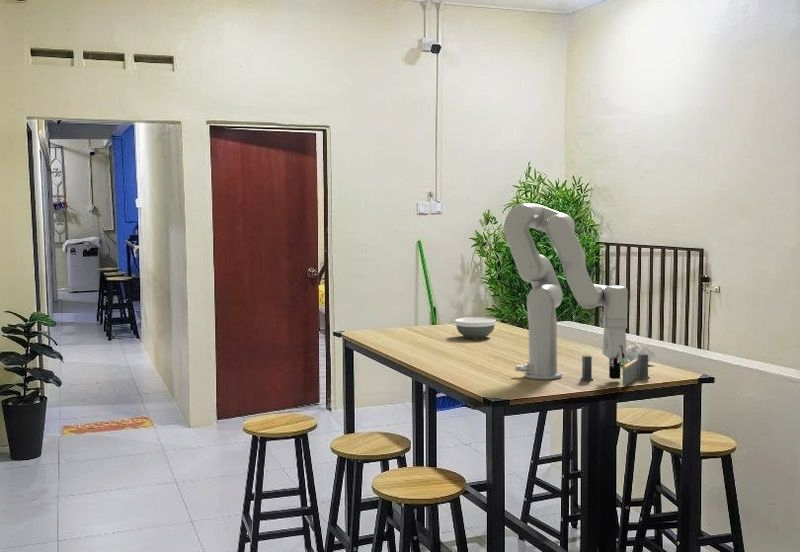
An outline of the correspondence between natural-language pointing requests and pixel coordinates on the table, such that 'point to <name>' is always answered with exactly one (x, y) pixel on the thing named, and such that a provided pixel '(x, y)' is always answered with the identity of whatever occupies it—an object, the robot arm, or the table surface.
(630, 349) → the crumpled plastic bottle
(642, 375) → the gate posts
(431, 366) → the table surface
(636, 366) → the gate leaf
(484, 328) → the bowl
